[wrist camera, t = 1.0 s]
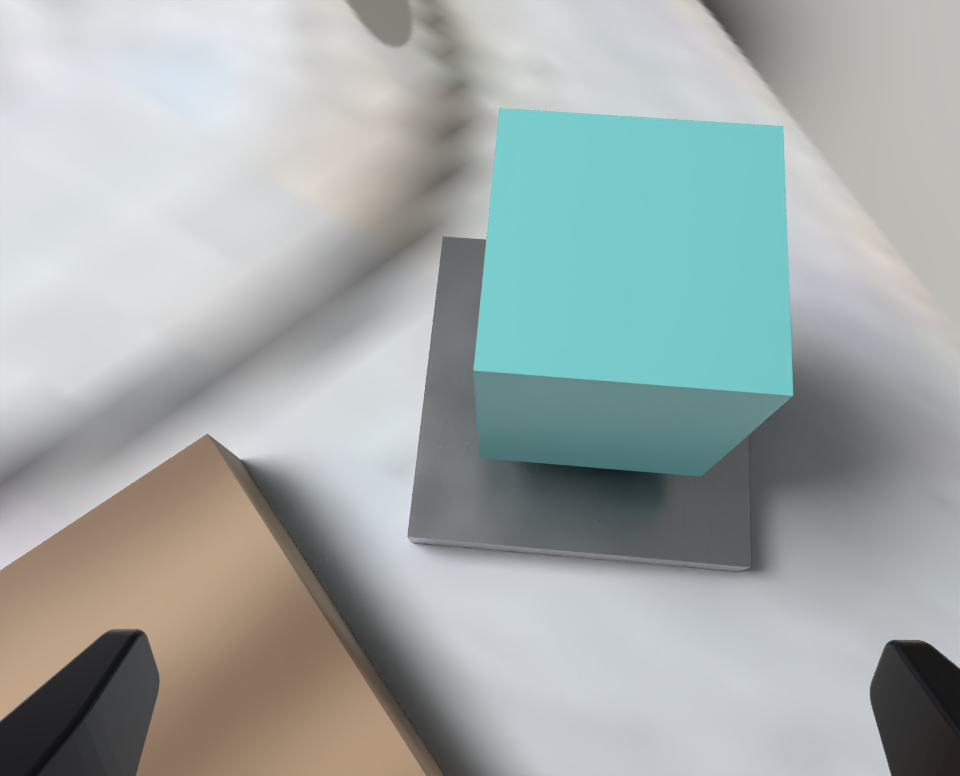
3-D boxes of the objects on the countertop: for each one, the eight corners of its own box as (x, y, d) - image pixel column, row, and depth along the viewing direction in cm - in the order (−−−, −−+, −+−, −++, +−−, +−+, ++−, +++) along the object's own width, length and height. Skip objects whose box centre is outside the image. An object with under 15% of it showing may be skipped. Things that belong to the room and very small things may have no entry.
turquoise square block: (700, 476, 21) (793, 396, 15) (480, 457, 22) (473, 370, 15) (701, 276, 23) (783, 126, 17) (498, 262, 24) (499, 107, 17)
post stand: (739, 571, 24) (831, 539, 17) (411, 542, 24) (380, 500, 18) (735, 275, 27) (812, 152, 21) (445, 253, 28) (429, 126, 21)
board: (500, 861, 22) (501, 892, 19) (179, 1127, 20) (127, 1206, 17) (239, 458, 25) (207, 433, 23) (-49, 652, 24) (-124, 652, 21)
